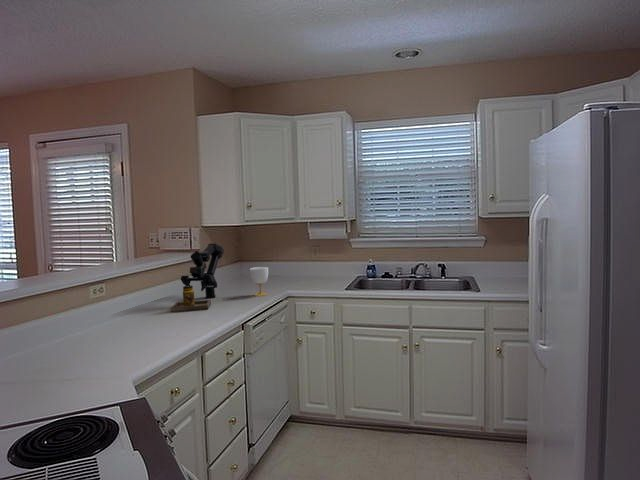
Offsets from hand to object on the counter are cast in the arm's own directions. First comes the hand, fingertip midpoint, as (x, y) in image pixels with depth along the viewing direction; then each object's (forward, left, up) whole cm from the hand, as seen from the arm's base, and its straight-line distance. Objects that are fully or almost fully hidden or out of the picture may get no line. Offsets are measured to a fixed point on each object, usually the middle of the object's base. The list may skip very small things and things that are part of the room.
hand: (194, 291), depth 274 cm
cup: (-19, +38, -9) cm, 44 cm away
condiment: (+7, -3, -8) cm, 11 cm away
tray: (+7, -1, -9) cm, 11 cm away
